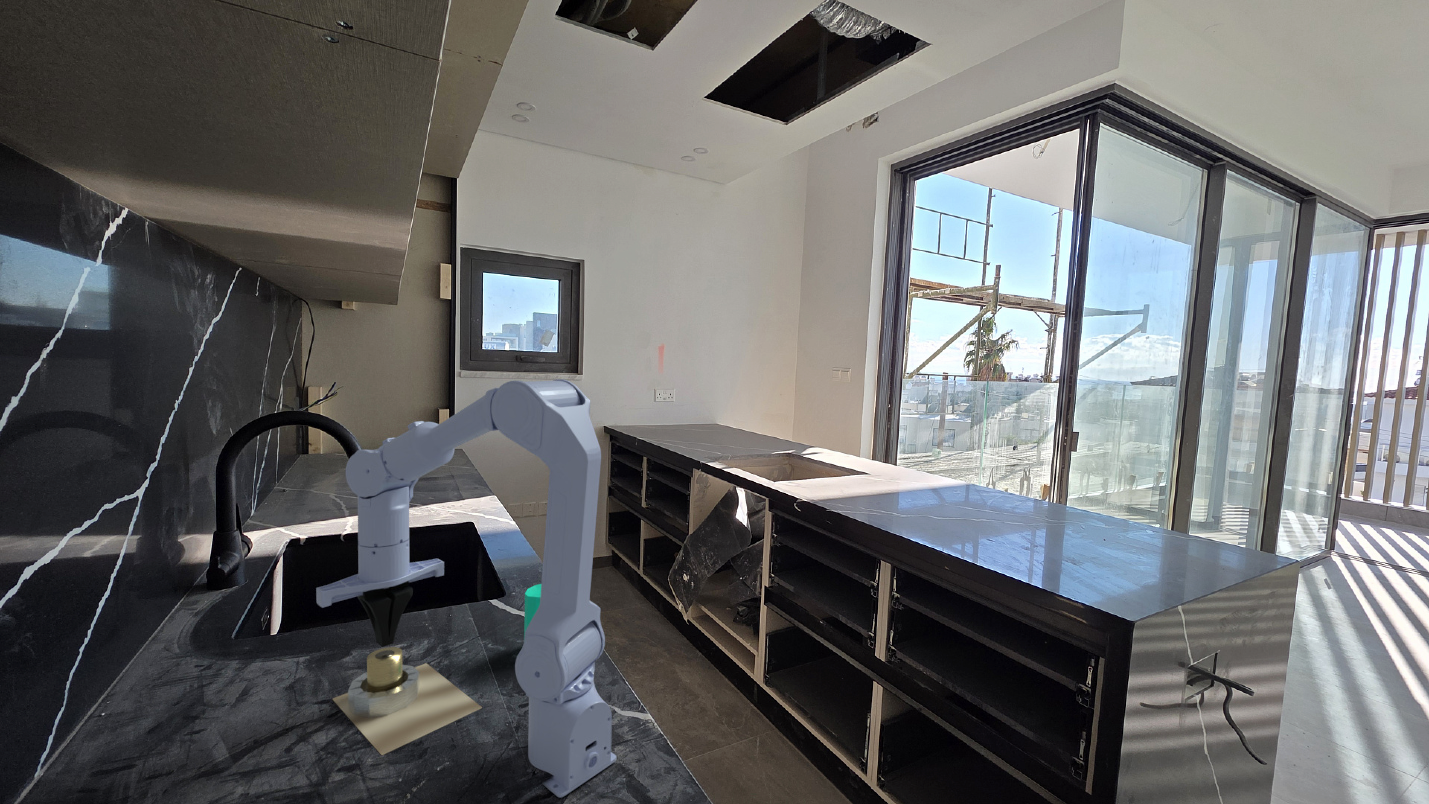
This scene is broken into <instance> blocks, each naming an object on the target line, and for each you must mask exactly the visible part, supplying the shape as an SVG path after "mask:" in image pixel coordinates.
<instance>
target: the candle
mask: <svg viewBox="0 0 1429 804" xmlns="http://www.w3.org/2000/svg"><path fill="white" fill-rule="evenodd" d="M541 584H542V583H538V584H535V585H533V586H531V587H528V588H527V590H526V591H525V592H524V621H523V622H524V625H523V626H524V628H523V629H524V631H523V632H524V633H523V637H524V638H523V640H524V639H525V631H526V629H527V627H528V625H529V624H530V622H531V620H532V618H533V617H534V615H535V613H536V611H537V610H538V608H539V606H540V597H541Z"/></svg>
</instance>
